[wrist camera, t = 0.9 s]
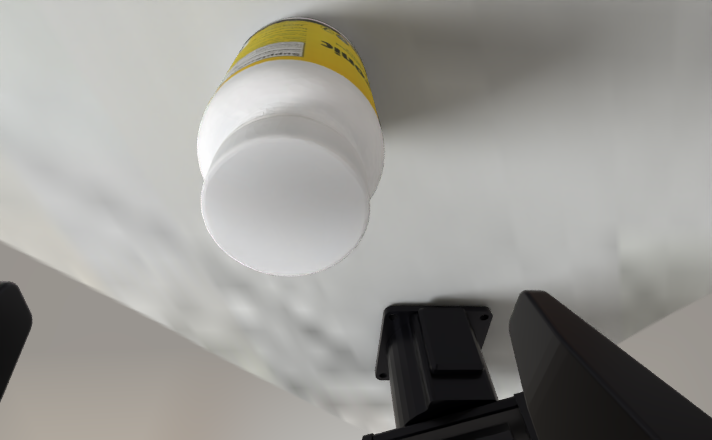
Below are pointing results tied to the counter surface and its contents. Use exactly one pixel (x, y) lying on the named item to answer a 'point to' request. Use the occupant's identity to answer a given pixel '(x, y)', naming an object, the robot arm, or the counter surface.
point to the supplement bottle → (291, 150)
